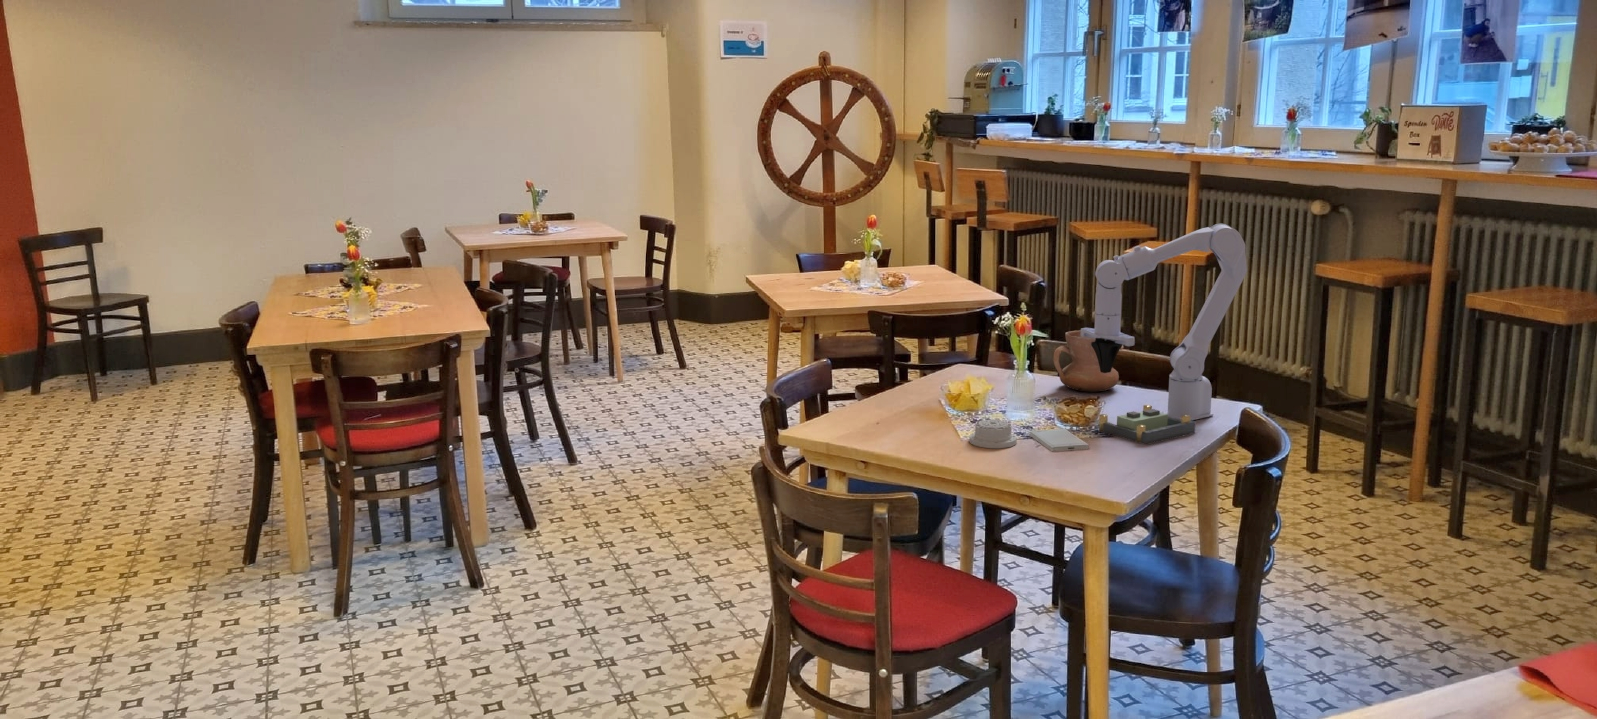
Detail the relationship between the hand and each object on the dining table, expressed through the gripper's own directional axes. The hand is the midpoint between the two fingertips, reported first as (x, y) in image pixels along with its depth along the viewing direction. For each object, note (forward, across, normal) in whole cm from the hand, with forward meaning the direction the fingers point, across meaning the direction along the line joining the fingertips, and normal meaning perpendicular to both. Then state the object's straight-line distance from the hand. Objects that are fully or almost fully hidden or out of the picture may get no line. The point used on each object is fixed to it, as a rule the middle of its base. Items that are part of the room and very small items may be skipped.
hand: (1105, 372), depth 266 cm
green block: (+10, +16, -5) cm, 19 cm away
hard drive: (+11, +11, -25) cm, 29 cm away
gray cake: (+10, +3, -36) cm, 38 cm away
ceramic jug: (+10, -20, +15) cm, 27 cm away
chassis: (+10, +15, -4) cm, 18 cm away
